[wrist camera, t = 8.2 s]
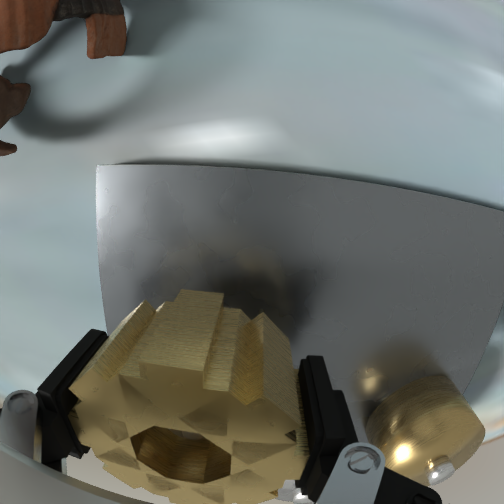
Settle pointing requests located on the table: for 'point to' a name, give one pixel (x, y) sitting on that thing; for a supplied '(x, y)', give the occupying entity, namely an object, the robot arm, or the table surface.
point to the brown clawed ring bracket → (36, 27)
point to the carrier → (324, 287)
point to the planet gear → (194, 403)
